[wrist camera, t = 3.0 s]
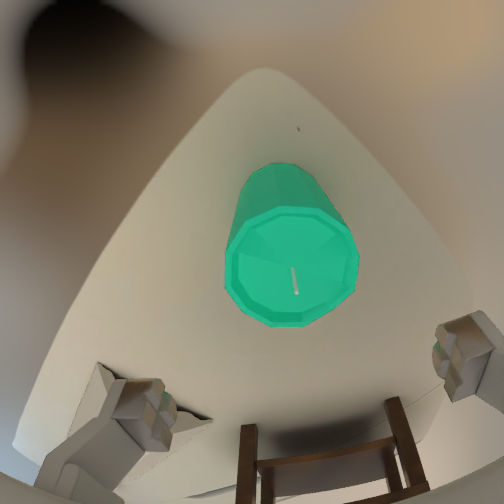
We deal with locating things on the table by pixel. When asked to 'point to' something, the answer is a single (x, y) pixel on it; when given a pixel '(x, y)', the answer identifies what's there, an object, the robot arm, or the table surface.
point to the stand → (335, 466)
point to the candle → (288, 250)
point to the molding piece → (182, 434)
